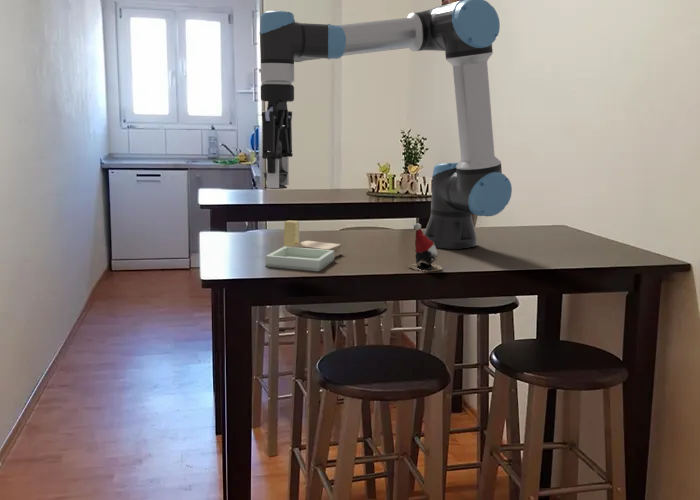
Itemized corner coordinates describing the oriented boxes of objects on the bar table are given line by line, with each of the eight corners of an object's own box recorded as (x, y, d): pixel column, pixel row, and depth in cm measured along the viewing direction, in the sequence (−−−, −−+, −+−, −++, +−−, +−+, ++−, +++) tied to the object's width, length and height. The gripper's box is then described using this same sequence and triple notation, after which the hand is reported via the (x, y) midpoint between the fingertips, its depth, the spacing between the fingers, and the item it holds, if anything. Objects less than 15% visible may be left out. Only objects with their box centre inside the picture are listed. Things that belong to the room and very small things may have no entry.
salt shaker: (263, 186, 167) (262, 134, 164) (288, 186, 167) (288, 135, 165) (262, 189, 161) (261, 135, 159) (288, 189, 162) (288, 136, 159)
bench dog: (298, 251, 184) (299, 221, 182) (295, 253, 181) (295, 222, 179) (287, 250, 184) (288, 220, 183) (283, 252, 182) (284, 221, 180)
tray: (334, 260, 174) (334, 250, 174) (319, 271, 162) (319, 260, 161) (284, 256, 177) (284, 246, 177) (265, 266, 165) (265, 255, 165)
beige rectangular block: (341, 255, 183) (341, 244, 182) (328, 261, 175) (328, 249, 175) (306, 251, 186) (306, 240, 186) (292, 256, 179) (292, 245, 178)
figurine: (459, 253, 169) (431, 224, 163) (438, 287, 167) (409, 259, 161) (436, 247, 176) (408, 220, 170) (416, 280, 174) (387, 253, 167)
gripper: (276, 84, 169) (276, 181, 174) (245, 82, 151) (247, 190, 156) (306, 85, 167) (305, 182, 172) (278, 82, 149) (279, 191, 154)
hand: (277, 186), depth 164 cm, fingers closed on salt shaker, 6 cm apart
